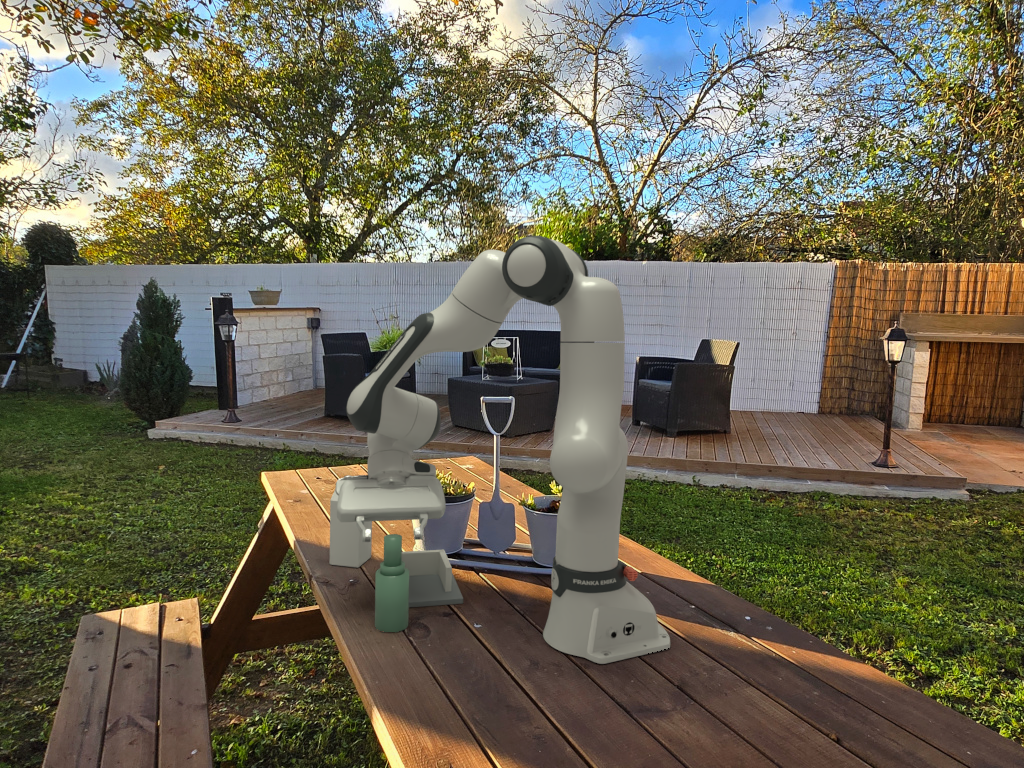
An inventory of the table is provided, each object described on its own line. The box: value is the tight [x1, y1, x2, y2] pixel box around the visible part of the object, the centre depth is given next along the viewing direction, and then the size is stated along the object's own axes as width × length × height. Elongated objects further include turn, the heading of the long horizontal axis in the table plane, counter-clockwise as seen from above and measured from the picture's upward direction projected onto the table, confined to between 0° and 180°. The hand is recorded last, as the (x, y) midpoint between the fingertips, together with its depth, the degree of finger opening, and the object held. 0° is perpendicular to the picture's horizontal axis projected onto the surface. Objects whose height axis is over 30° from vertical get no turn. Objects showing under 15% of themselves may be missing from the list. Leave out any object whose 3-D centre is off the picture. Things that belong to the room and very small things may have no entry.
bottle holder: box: [402, 549, 464, 608], centre depth 134 cm, size 15×18×6 cm
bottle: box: [374, 533, 410, 633], centre depth 116 cm, size 6×6×16 cm
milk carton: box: [329, 478, 373, 568], centre depth 147 cm, size 7×7×19 cm
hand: (392, 539), depth 117 cm, fingers open, 8 cm apart
